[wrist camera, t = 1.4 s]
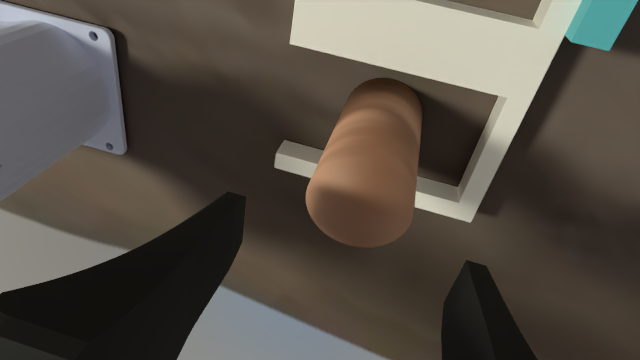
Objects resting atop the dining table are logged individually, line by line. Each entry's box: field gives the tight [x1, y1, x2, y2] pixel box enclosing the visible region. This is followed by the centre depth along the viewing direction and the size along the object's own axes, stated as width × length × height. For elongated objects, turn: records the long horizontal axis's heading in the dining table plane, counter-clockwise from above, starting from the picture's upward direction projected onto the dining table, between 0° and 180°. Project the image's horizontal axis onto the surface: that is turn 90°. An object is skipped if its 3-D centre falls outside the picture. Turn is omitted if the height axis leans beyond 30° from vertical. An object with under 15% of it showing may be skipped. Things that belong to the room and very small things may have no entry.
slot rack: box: [274, 0, 638, 223], centre depth 18 cm, size 12×17×2 cm
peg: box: [306, 78, 422, 248], centre depth 19 cm, size 4×4×8 cm
